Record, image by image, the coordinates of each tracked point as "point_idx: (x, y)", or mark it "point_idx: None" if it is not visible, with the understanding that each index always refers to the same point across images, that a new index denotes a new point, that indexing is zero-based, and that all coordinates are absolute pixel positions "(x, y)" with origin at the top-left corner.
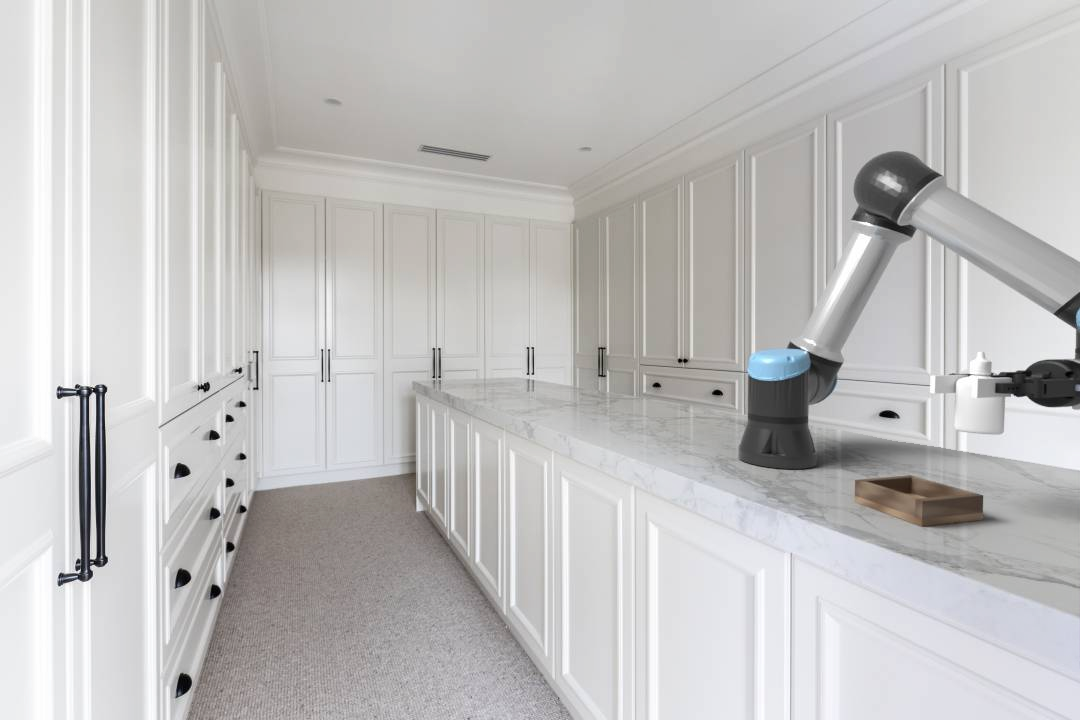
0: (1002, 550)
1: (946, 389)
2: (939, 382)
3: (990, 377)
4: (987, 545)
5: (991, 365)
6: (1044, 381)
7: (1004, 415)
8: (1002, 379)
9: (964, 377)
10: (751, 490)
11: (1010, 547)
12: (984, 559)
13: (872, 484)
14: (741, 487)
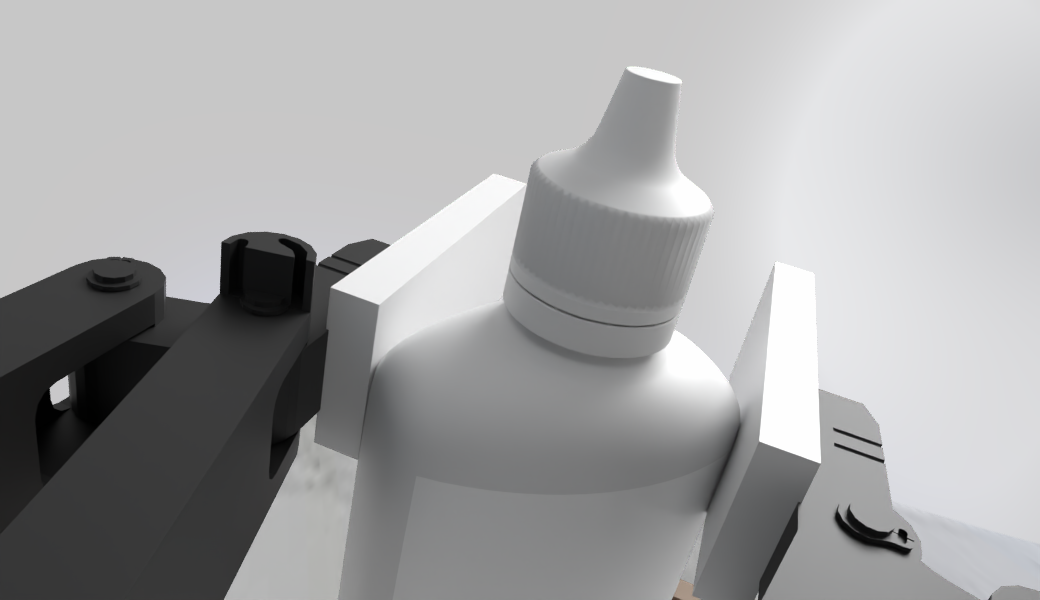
0: (282, 516)
1: None
2: (754, 323)
3: (494, 309)
4: (315, 528)
5: (525, 213)
6: (58, 283)
7: (339, 596)
8: (389, 254)
9: (681, 339)
10: (933, 567)
11: (262, 550)
12: (316, 443)
13: (689, 590)
14: (971, 575)
